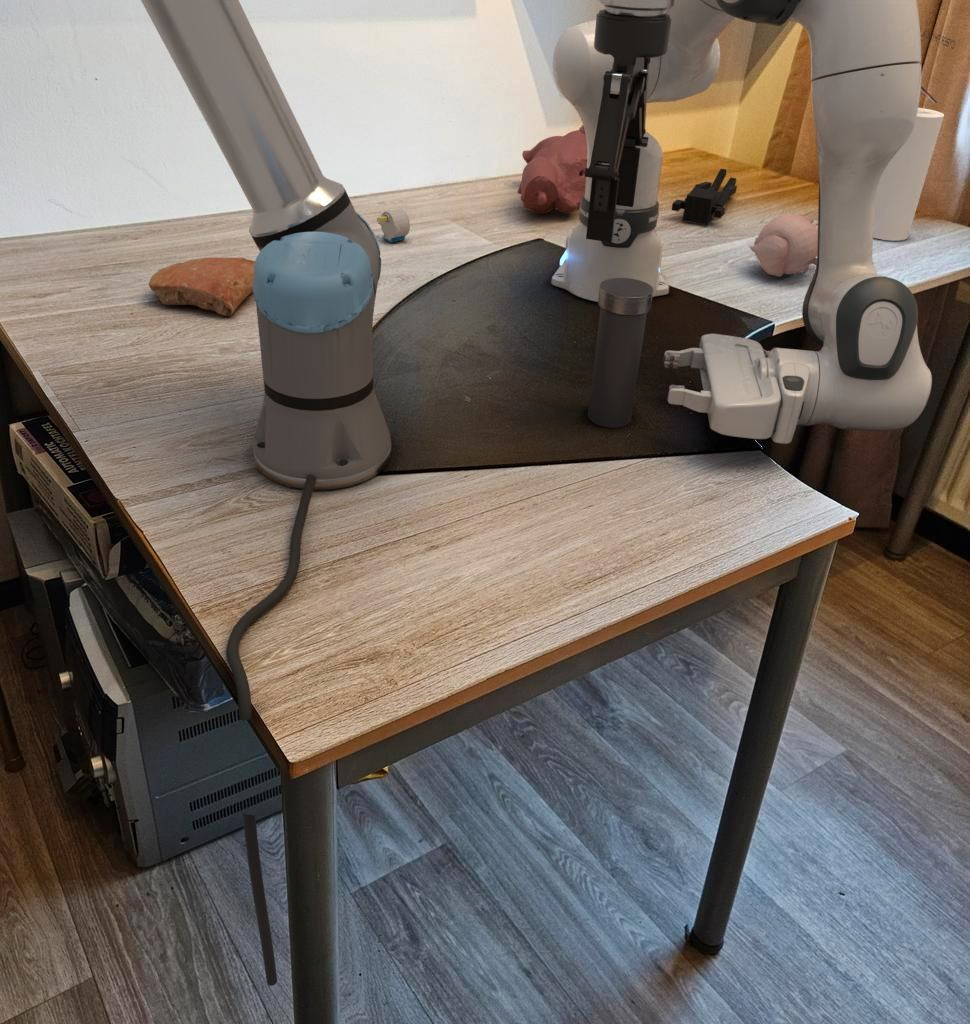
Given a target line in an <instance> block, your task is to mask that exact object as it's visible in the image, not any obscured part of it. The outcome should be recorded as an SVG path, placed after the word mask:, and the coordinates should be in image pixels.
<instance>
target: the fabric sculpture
mask: <svg viewBox="0 0 970 1024" xmlns="http://www.w3.org/2000/svg"><path fill="white" fill-rule="evenodd" d="M521 156H522V158H523V160H524V162H525V163H526V164H525V166H524V168H523V170H522V172H521V173H522V174H521V180H520V181H521V182H520V185H519V186H518V189H517V194H518V195H520V200H521V202H522V203H523V207H524V209H525V210H529V211H530V212H532V213H535V214H546V213H549V212H551V211H552V210H553V209H554V208H555V209H556V210H557V211H559V212H560V213H564V214H569V213H573V212H575V211H578V210H579V209H580V204H581V199H582V196H583V195H584V194H585V185H586V177H585V168H587V139H586V133H585V129H584V126H583V124H581V126H580V127H579V129H576V130H573V131H570V132H568V133H566V134H565V135H554V136H549V137H546V138H544V139H542V140H540V141H539V142H538V143H536V145H535V146H534V147H532V148H531V149H529V150H523V151H522V153H521Z"/></svg>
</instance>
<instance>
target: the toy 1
mask: <svg viewBox="0 0 970 1024" xmlns="http://www.w3.org/2000/svg"><path fill="white" fill-rule="evenodd" d="M727 171H728V170H727V169H726V168H720V169H719V171H718V173H717V175H716V177H715V178H714V180H713V182H710V181H704V182H700V183H697V184H695V185H694V187H693V188H692V190H691V191H690V192H688V193H687V195H686V197H685V198H684V200H683V199H676V200H674V201H673V202H672V205H671V211H673V212H680V210H683V216H682V221H683V222H687V223H693V224H699V225H706V226H707V225H709V223H711V221H712V220H713V218H716V219H722V217H723V216H724V215H725V212H726V204H727V203H728V201H729V199H730V198H731V197H732V196H734V195H735V194H736V193H737V188H738V185H736V182H737V177H732V176H731V177H730V178H729V179H728V180H727V182H726V183H725V185H724V187H723V188H722V190H719V189H720V188H721V186H722V184H723V181H724V180H725V178H726V176H727Z"/></svg>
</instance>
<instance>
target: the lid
mask: <svg viewBox="0 0 970 1024" xmlns="http://www.w3.org/2000/svg"><path fill="white" fill-rule="evenodd" d="M653 291H654V290H653V287H652V286H651V285H649V284H648V283H645V282H643V281H640V280H636V279H630V278H612V279H607V280H604V281H603V282H601V284H600V289H599V297H598V302H597V304H598V306H599V308H602V309H604V310H606V311H608V312H611V313H615V314H620V315H640V314H644V313H647V314H648V312H650V311H651V310H652V303H653V298H654V297H653Z"/></svg>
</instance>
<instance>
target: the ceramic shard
mask: <svg viewBox="0 0 970 1024" xmlns="http://www.w3.org/2000/svg"><path fill="white" fill-rule="evenodd" d="M255 261H256V260H253V259H247V258H244V257H203V258H201V257H200V258H196V259H190V260H187V261H184V262H178V263H174V264H171V265H168V266H166V267H162V268H160V269H158V270H157V272H155V273H154V274H152V275H151V277H150V279H149V281H148V287H149V288H150V290H151V291H152V292H153V293H155V294H156V296H157V298H158V300H159V301H160V302H161V304H162V305H167V306H168V305H169V306H171V305H173V306H174V305H176V306H177V305H178V306H187V305H188V306H197V307H199V308H200V309H203V310H207V311H213V312H216V313H217V314H218V315H221V316H225V317H229V316H232V315H233V314H234V313H235V311H236V309H237V308H238V307H239V306H240V305H241V303H243V301H244V300H245V299H246V298H247V297H248V296H249V295H250V294H253V278H254V265H255Z"/></svg>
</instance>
